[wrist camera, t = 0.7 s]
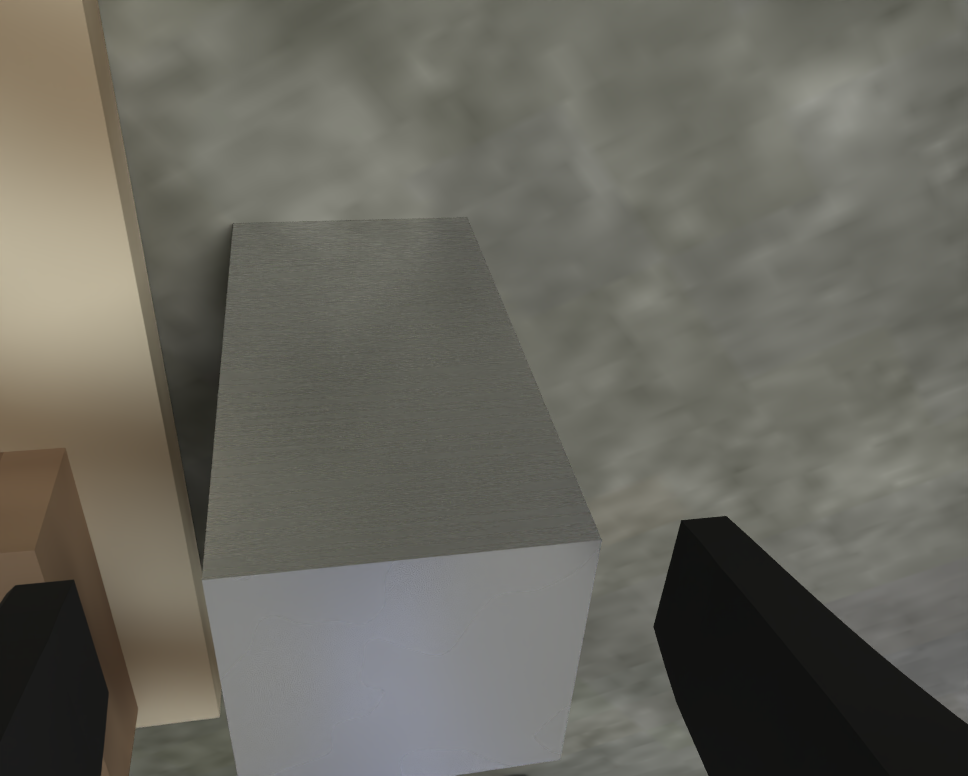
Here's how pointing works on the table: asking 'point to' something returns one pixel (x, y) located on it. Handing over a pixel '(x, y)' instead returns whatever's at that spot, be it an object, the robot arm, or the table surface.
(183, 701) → the socket board
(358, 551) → the square peg
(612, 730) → the table surface
